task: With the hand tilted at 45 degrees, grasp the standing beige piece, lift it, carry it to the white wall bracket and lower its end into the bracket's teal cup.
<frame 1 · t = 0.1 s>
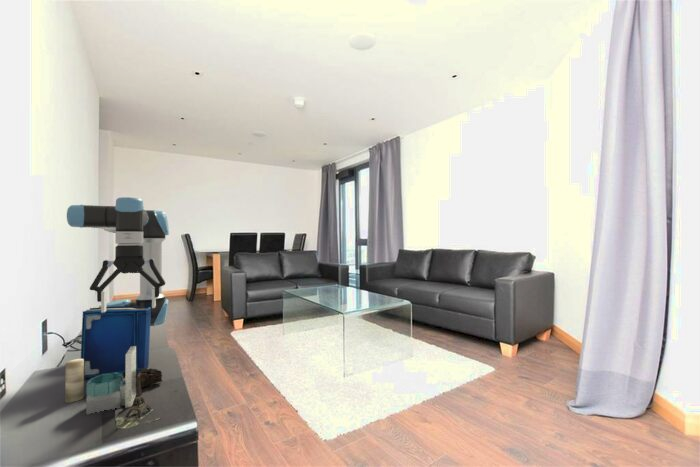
hand: (129, 309, 103), 28 cm above the table, tool pointing down, fingers open, 13 cm apart
bracket: (105, 406, 96), on the table
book: (117, 373, 120), on the table
dark brown lumpy piece: (132, 389, 107), on the table
eiffel tower figurine: (136, 416, 91), on the table
beige piece: (74, 399, 100), on the table
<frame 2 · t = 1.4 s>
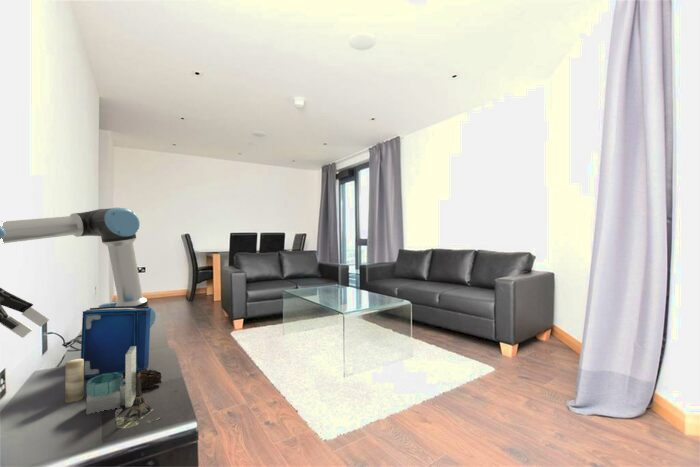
hand: (37, 328, 96), 24 cm above the table, tool tilted 45°, fingers open, 13 cm apart
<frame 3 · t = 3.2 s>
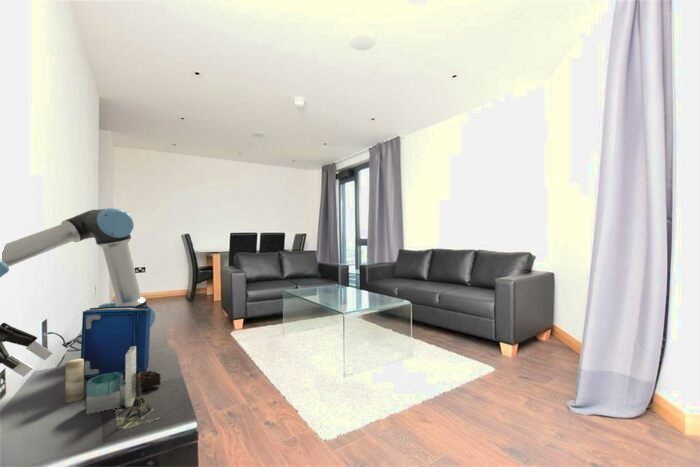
hand: (39, 364, 96), 13 cm above the table, tool tilted 45°, fingers open, 13 cm apart
dark brown lumpy piece: (130, 392, 105), on the table
everything else where it was.
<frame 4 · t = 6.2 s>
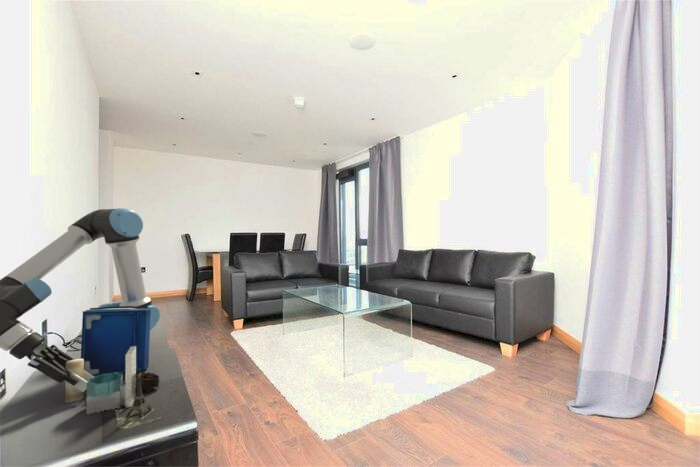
hand: (89, 384, 102), 4 cm above the table, tool tilted 45°, fingers closed on beige piece, 4 cm apart
dark brown lumpy piece: (129, 393, 105), on the table, touching bracket
beige piece: (74, 399, 100), on the table, touching gripper
everything else where it was.
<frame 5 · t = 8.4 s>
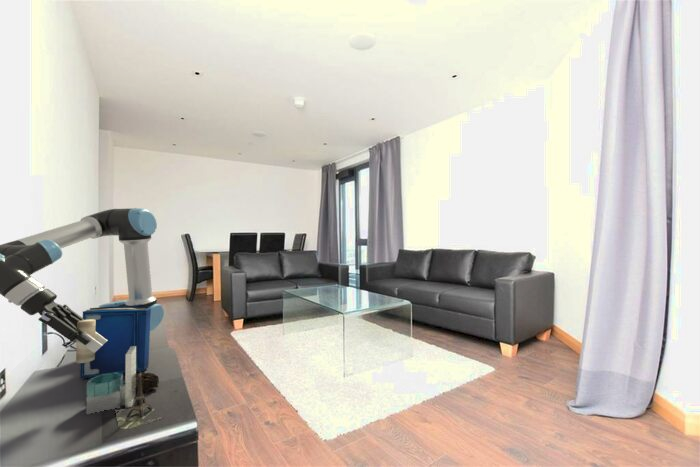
hand: (101, 346, 98), 17 cm above the table, tool tilted 45°, fingers closed on beige piece, 4 cm apart
dark brown lumpy piece: (128, 393, 105), on the table
beige piece: (85, 360, 96), point 14 cm above the table, touching gripper
everything else where it was.
when the fingers open (11 cm above the table, at t = 10.5 s): beige piece drops 2 cm, resting on bracket.
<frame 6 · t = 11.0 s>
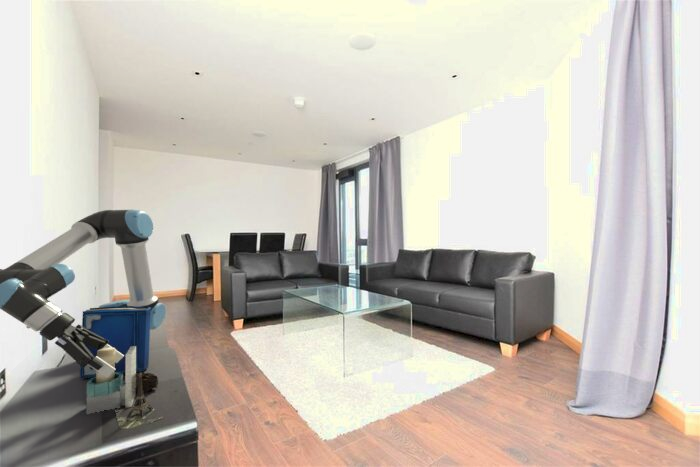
hand: (116, 366, 97), 12 cm above the table, tool tilted 45°, fingers open, 11 cm apart
beige piece: (104, 389, 96), point 5 cm above the table, touching bracket
everything else where it was.
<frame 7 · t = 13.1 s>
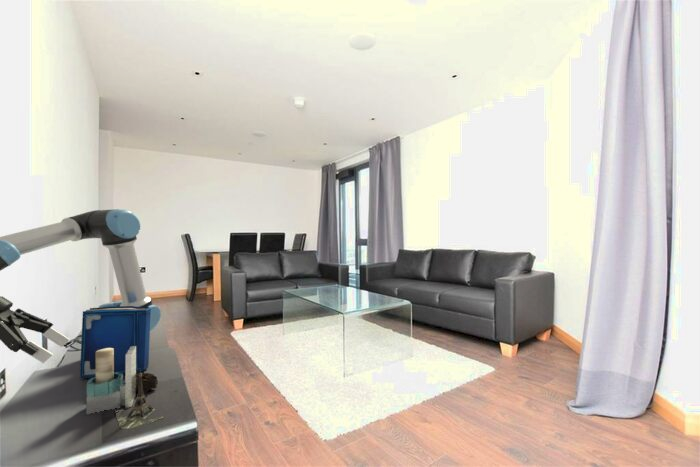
hand: (58, 350, 93), 18 cm above the table, tool tilted 45°, fingers open, 13 cm apart
nothing on the table moved.
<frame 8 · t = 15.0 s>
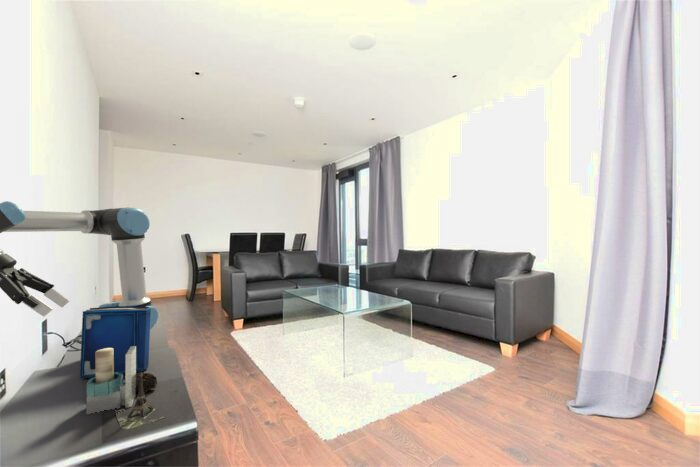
hand: (58, 308, 97), 30 cm above the table, tool tilted 45°, fingers open, 13 cm apart
dark brown lumpy piece: (127, 393, 105), on the table, touching bracket
everything else where it was.
at the end: beige piece 0.1 cm off-centre on the bracket, point 5.0 cm above the bracket's base; beige piece tilted 1°; the gripper is holding nothing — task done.
